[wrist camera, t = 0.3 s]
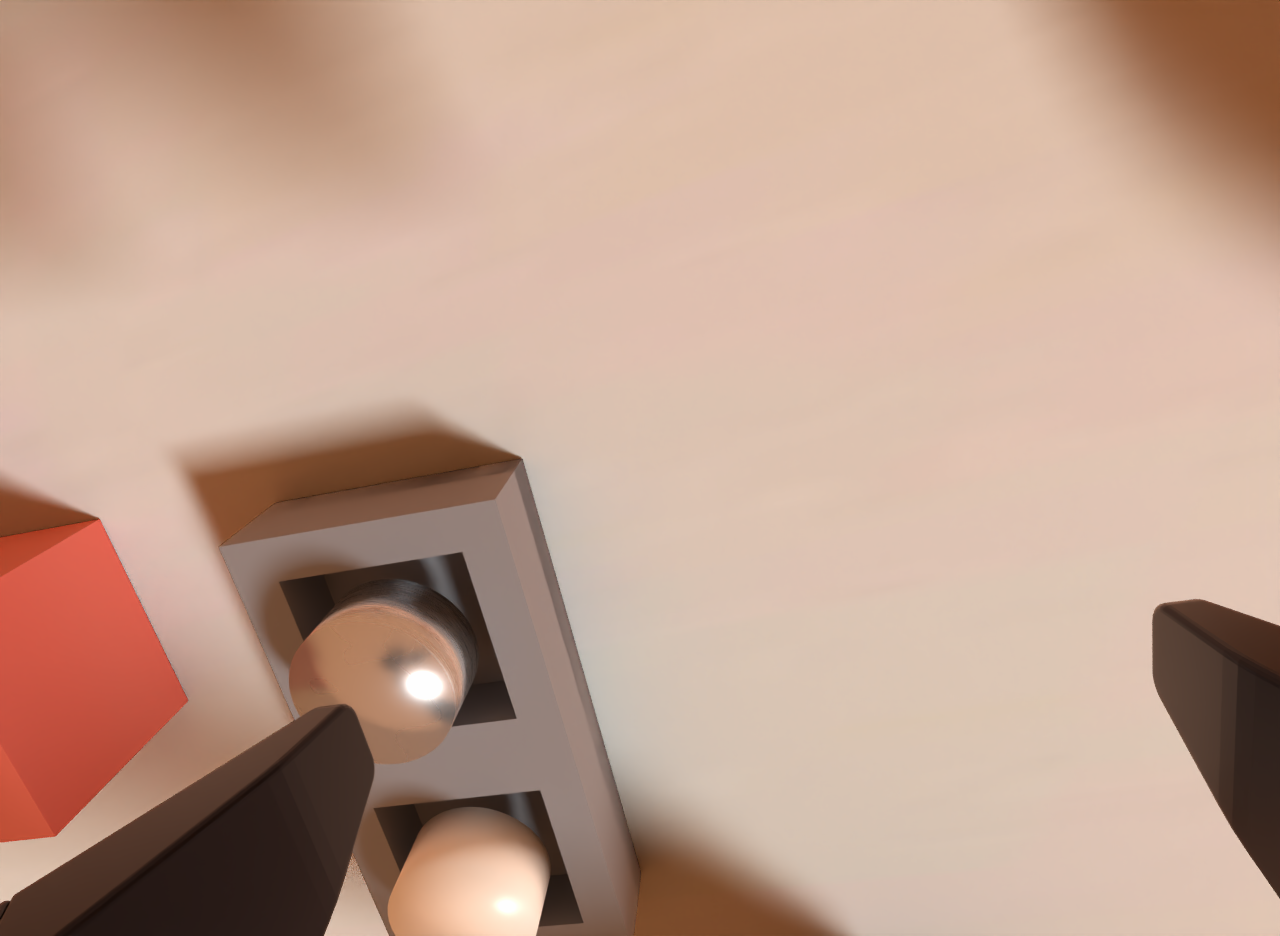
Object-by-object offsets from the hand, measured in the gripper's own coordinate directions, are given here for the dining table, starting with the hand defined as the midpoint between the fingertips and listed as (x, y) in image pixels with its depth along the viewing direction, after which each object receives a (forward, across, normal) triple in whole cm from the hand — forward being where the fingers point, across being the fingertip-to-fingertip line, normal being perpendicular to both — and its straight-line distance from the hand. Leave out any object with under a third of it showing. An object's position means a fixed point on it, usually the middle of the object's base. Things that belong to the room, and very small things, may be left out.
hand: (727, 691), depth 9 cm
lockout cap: (+14, +24, +4) cm, 28 cm away
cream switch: (+11, +10, +13) cm, 20 cm away
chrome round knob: (+11, +10, +5) cm, 16 cm away
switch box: (+14, +10, +9) cm, 20 cm away
